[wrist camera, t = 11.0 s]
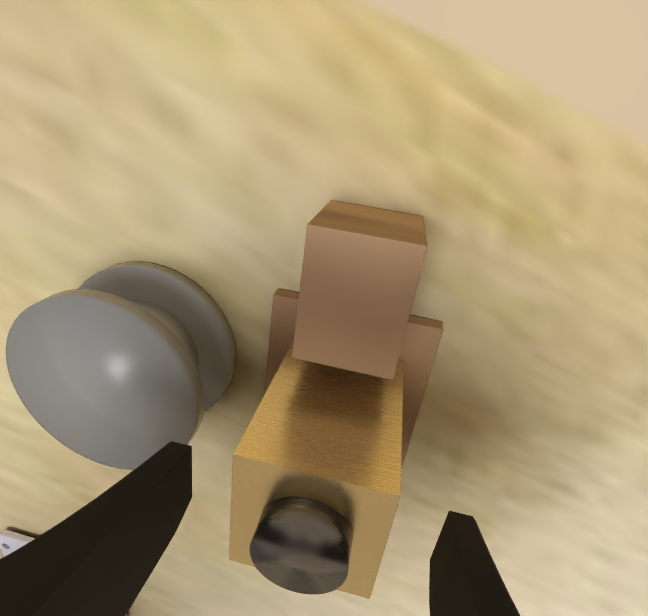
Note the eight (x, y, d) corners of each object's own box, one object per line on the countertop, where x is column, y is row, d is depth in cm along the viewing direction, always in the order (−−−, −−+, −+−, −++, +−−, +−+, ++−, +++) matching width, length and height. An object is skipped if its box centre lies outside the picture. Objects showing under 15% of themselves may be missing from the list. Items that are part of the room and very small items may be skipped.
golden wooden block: (382, 442, 16) (366, 632, 10) (286, 419, 17) (216, 588, 11) (403, 358, 15) (399, 527, 9) (295, 336, 15) (219, 481, 9)
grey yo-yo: (233, 424, 18) (195, 489, 15) (90, 389, 19) (26, 444, 16) (239, 280, 15) (194, 323, 12) (70, 246, 16) (-15, 278, 13)
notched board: (383, 519, 19) (378, 598, 16) (259, 487, 20) (231, 557, 17) (470, 224, 13) (489, 257, 10) (286, 192, 14) (250, 213, 10)
